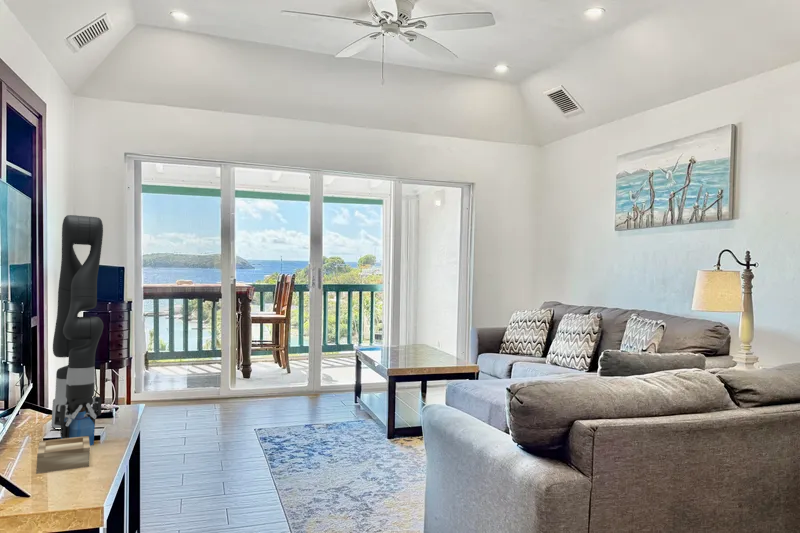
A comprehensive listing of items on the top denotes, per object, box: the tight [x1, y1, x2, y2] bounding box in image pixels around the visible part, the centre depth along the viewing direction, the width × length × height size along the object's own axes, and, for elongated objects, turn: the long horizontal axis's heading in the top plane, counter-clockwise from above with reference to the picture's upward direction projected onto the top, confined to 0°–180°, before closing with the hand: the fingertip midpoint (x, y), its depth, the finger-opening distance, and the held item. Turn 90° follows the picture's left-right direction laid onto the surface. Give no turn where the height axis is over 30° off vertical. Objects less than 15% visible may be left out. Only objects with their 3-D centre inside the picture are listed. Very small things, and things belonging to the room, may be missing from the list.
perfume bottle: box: [60, 407, 96, 447], centre depth 161 cm, size 6×6×12 cm
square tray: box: [35, 436, 91, 474], centre depth 147 cm, size 12×12×5 cm
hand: (77, 434), depth 161 cm, fingers open, 8 cm apart
